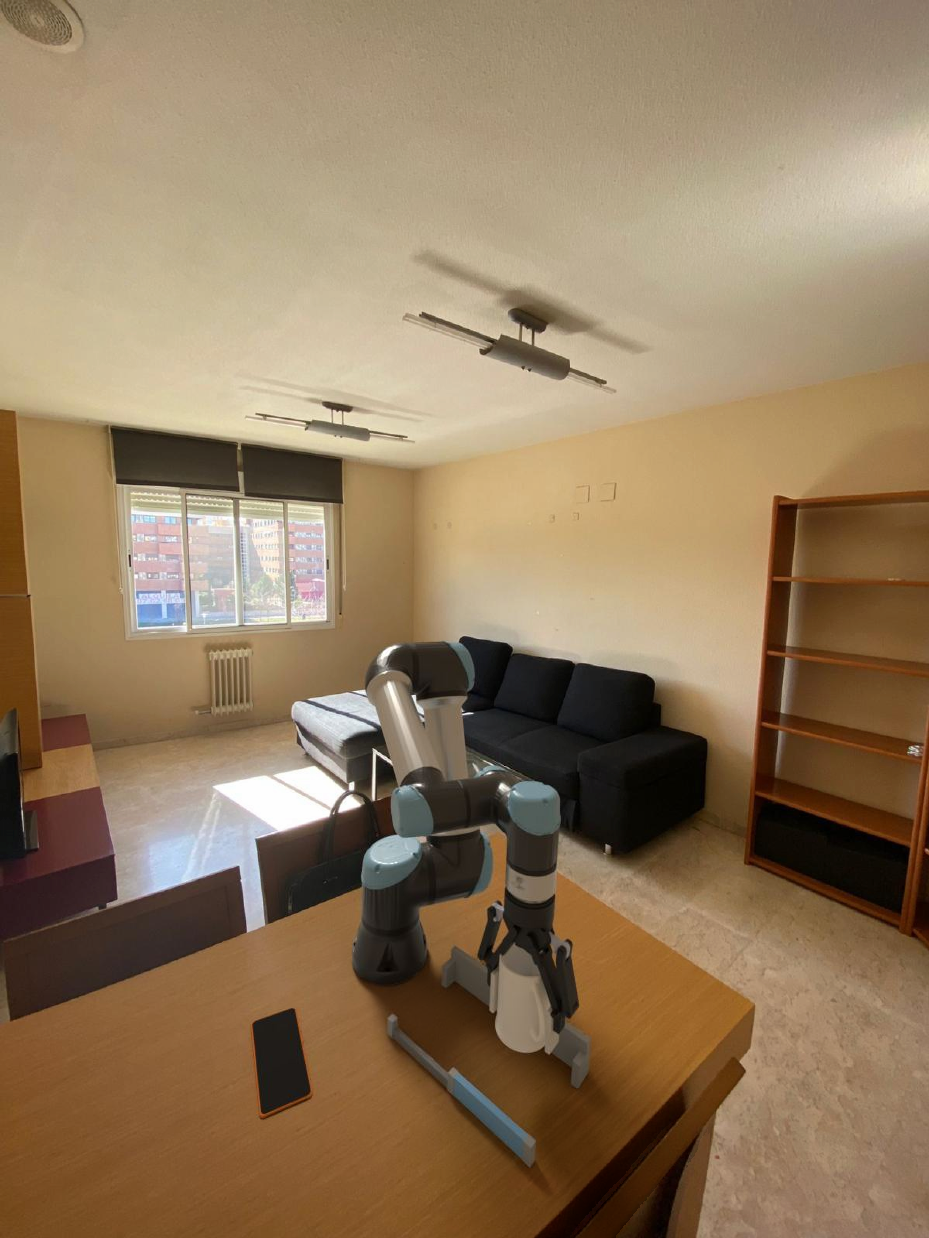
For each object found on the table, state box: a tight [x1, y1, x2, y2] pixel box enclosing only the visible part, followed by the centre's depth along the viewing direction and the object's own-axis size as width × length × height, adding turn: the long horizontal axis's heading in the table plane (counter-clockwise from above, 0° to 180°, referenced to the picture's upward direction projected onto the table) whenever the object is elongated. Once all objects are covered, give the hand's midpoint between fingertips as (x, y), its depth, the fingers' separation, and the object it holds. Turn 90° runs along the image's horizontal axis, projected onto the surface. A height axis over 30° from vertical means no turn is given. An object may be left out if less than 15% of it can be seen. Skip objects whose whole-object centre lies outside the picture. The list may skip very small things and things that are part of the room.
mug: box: [494, 943, 551, 1054], centre depth 77 cm, size 12×8×12 cm
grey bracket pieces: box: [386, 945, 592, 1168], centre depth 83 cm, size 29×17×6 cm, turn 50°
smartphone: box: [250, 1006, 314, 1119], centre depth 81 cm, size 8×17×1 cm, turn 27°
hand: (522, 1025), depth 77 cm, fingers closed on mug, 9 cm apart
